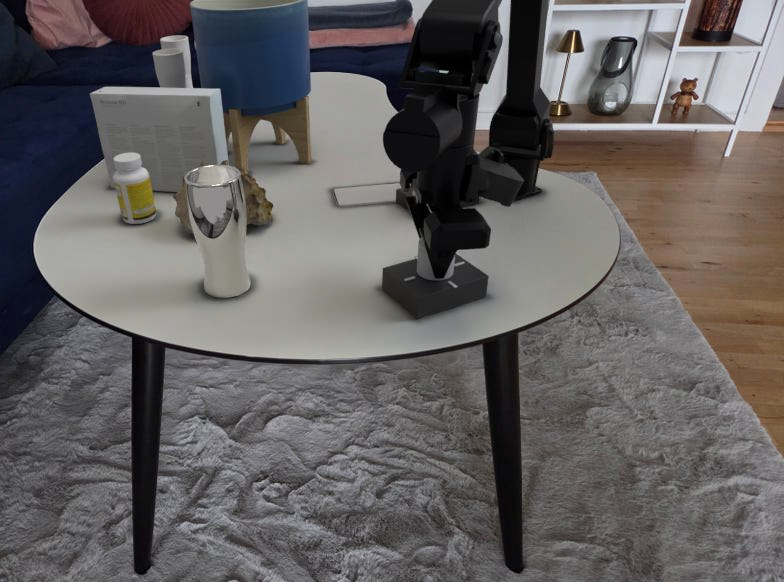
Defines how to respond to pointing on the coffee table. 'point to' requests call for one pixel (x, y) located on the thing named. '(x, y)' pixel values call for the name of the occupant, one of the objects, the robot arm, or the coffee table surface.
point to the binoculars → (173, 62)
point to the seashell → (254, 199)
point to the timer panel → (433, 287)
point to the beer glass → (219, 227)
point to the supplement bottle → (133, 189)
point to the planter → (257, 68)
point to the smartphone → (366, 195)
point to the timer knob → (424, 264)
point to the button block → (402, 195)
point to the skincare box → (161, 130)
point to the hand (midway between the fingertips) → (434, 268)
